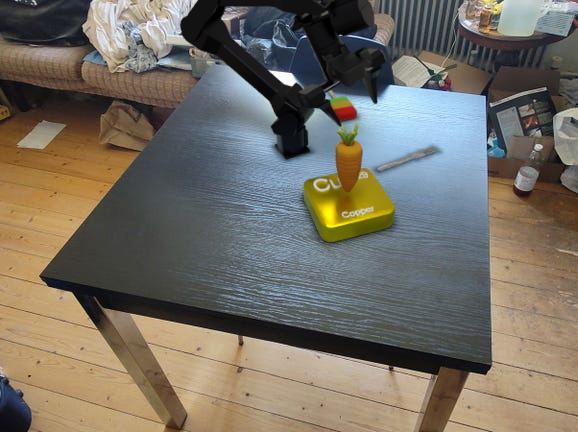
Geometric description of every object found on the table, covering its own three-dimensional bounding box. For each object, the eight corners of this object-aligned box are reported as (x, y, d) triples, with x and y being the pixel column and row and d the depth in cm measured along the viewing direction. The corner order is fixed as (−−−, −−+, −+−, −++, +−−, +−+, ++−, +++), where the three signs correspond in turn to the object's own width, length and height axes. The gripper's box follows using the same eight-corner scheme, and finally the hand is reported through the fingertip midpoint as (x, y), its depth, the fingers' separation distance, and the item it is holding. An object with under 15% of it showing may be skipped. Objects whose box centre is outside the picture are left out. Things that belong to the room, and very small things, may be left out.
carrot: (333, 199, 85) (333, 132, 74) (336, 183, 88) (337, 117, 78) (358, 201, 84) (362, 134, 74) (361, 185, 88) (365, 119, 77)
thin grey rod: (380, 172, 99) (380, 171, 98) (375, 168, 100) (375, 167, 100) (437, 151, 105) (438, 150, 105) (432, 147, 106) (433, 146, 106)
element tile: (323, 245, 82) (323, 227, 79) (301, 196, 93) (300, 178, 89) (396, 227, 86) (399, 208, 83) (367, 181, 96) (368, 163, 93)
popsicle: (338, 121, 114) (338, 115, 113) (320, 95, 124) (320, 89, 123) (358, 118, 116) (358, 112, 114) (339, 92, 126) (339, 86, 125)
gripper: (300, 71, 76) (337, 146, 84) (385, 18, 79) (414, 96, 87) (281, 67, 86) (316, 135, 94) (358, 21, 89) (386, 90, 97)
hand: (358, 114), depth 93 cm, fingers open, 9 cm apart
